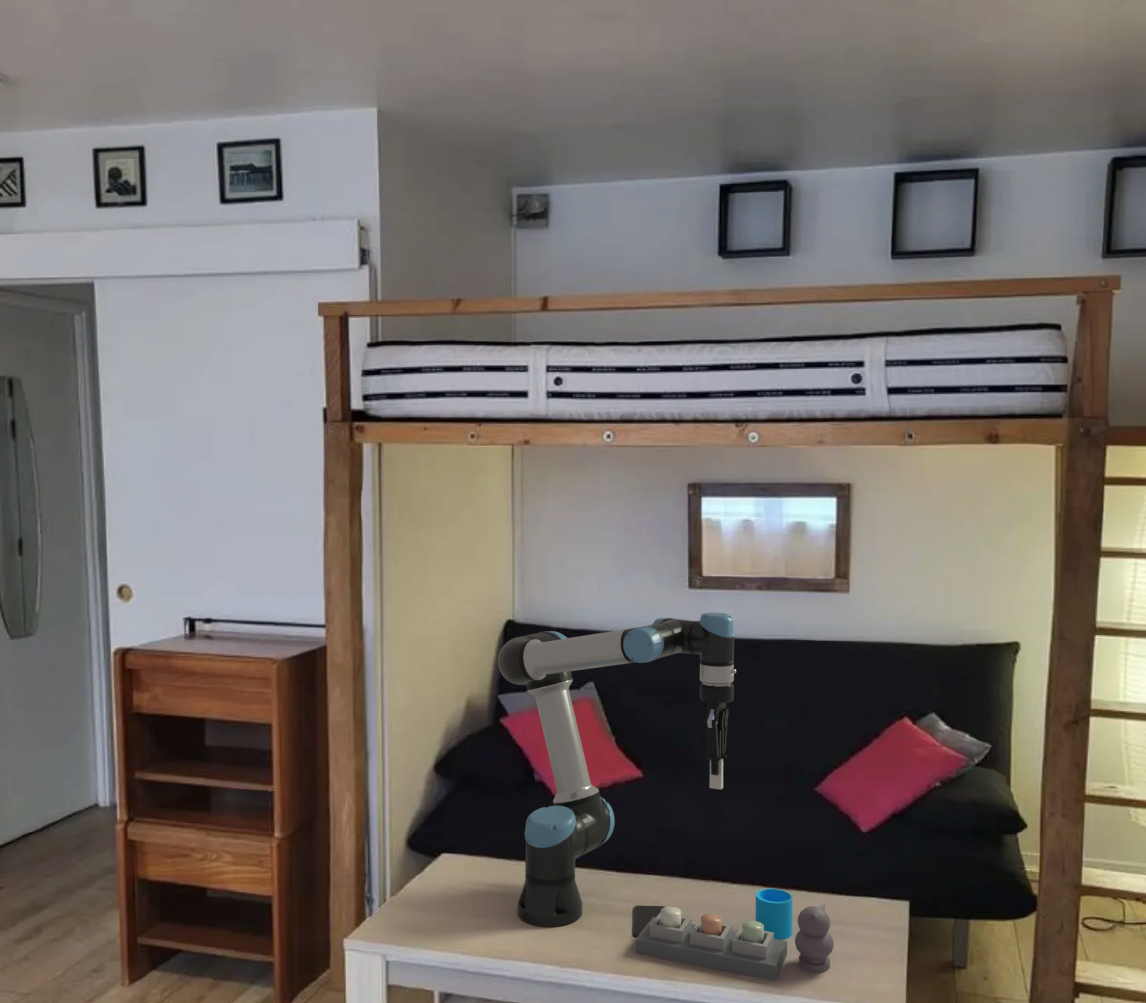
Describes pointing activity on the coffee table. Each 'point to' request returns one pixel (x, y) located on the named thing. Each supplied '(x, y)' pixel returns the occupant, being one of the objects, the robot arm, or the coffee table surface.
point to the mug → (775, 912)
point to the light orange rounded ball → (711, 924)
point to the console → (713, 948)
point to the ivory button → (671, 917)
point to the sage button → (753, 932)
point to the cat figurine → (814, 939)
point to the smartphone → (644, 917)
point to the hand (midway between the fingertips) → (716, 787)
